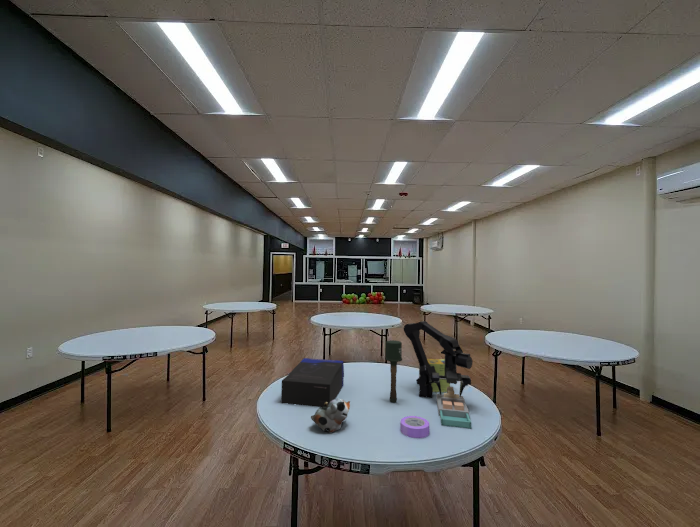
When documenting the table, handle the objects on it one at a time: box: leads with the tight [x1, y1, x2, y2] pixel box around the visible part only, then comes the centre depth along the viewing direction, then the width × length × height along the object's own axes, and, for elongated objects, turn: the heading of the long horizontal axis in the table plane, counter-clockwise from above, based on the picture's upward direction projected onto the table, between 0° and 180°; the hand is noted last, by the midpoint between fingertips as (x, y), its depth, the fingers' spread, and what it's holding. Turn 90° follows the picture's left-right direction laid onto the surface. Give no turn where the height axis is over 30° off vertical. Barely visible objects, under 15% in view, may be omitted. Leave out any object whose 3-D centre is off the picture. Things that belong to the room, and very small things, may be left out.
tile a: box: [443, 401, 452, 409], centre depth 145 cm, size 4×4×2 cm
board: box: [435, 392, 470, 418], centre depth 151 cm, size 13×20×3 cm, turn 168°
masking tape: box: [399, 415, 430, 439], centre depth 128 cm, size 12×12×4 cm
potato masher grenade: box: [385, 339, 403, 404], centre depth 158 cm, size 8×9×30 cm
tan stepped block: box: [441, 386, 465, 406], centre depth 153 cm, size 10×12×4 cm
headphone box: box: [280, 358, 345, 408], centre depth 169 cm, size 25×35×14 cm
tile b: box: [454, 402, 464, 411], centre depth 144 cm, size 4×4×2 cm
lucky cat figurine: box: [310, 398, 351, 434], centre depth 131 cm, size 15×12×14 cm
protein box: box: [418, 358, 451, 393], centre depth 178 cm, size 10×15×16 cm
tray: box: [439, 411, 472, 430], centre depth 136 cm, size 12×9×3 cm
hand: (450, 395), depth 156 cm, fingers open, 9 cm apart
